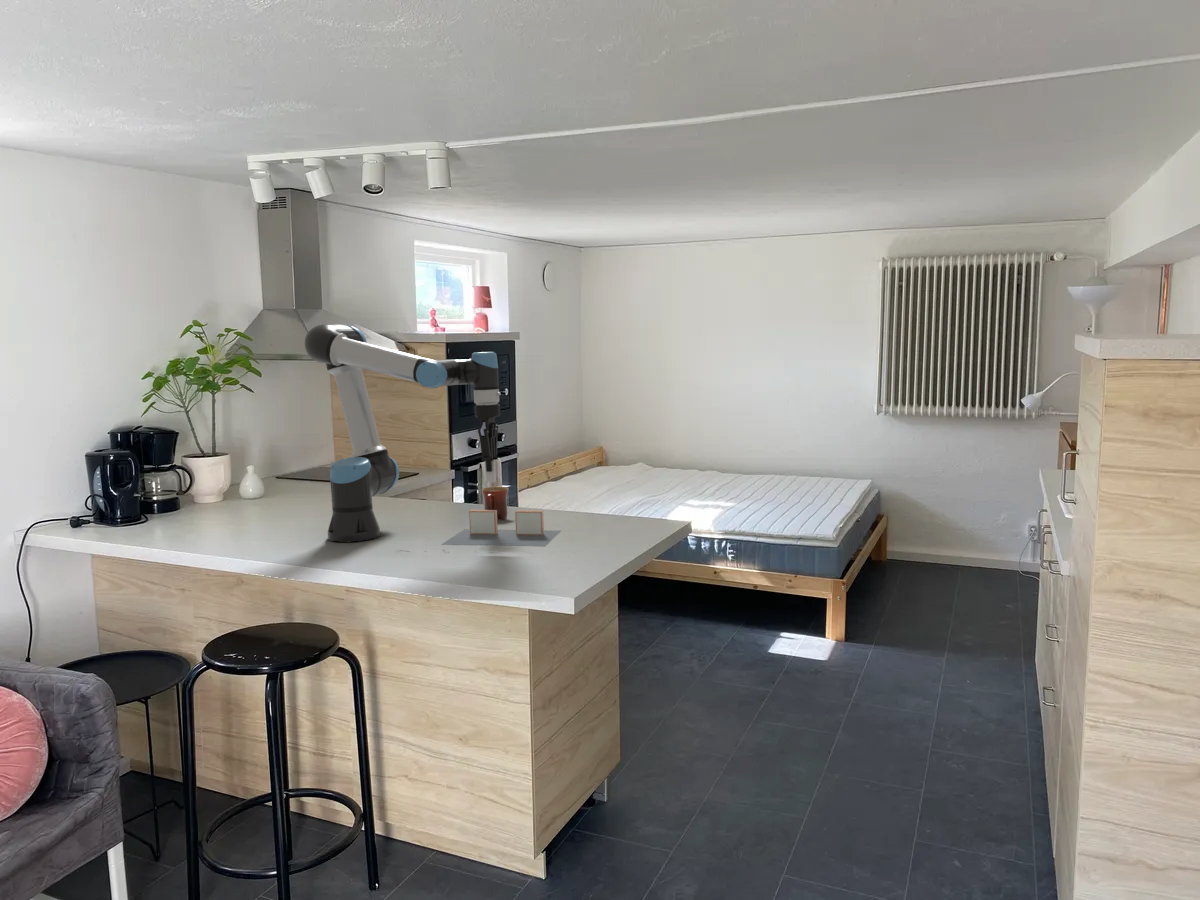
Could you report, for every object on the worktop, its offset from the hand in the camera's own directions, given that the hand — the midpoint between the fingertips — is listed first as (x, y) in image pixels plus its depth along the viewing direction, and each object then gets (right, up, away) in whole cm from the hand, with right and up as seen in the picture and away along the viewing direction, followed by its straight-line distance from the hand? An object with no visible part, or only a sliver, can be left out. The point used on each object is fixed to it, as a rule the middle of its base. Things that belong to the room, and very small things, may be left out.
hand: (491, 481), depth 263 cm
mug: (-1, -14, +18) cm, 23 cm away
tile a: (-1, -15, -6) cm, 16 cm away
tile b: (+12, -15, -8) cm, 21 cm away
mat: (+5, -17, -11) cm, 21 cm away
